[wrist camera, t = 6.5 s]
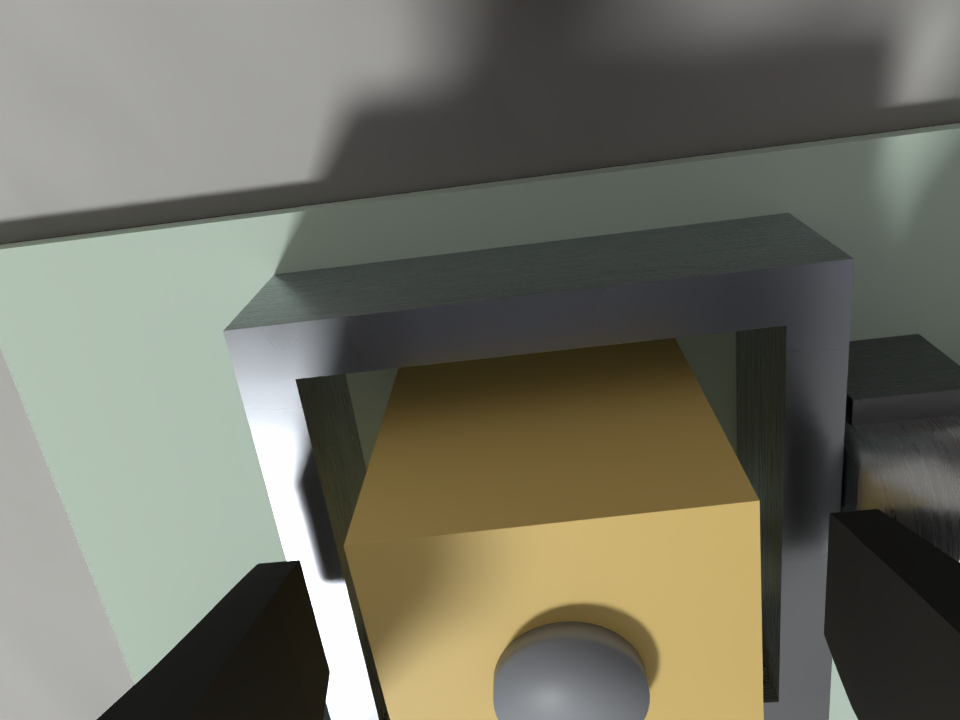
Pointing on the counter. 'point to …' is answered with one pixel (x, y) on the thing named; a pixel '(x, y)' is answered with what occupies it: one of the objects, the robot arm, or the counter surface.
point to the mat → (376, 238)
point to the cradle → (552, 327)
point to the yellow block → (559, 543)
